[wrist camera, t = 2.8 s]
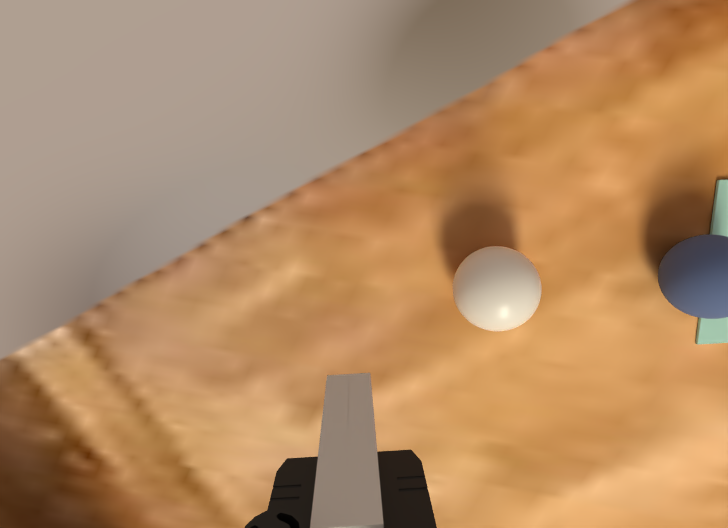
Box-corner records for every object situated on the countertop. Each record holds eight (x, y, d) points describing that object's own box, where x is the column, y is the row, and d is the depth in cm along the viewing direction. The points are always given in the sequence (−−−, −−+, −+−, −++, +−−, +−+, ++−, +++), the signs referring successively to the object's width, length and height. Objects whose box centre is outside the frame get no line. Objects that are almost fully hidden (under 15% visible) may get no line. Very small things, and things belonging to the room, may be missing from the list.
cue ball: (445, 316, 32) (464, 347, 27) (444, 241, 31) (464, 258, 25) (520, 312, 32) (554, 342, 27) (523, 237, 31) (559, 253, 26)
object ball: (636, 305, 32) (693, 334, 27) (643, 230, 31) (705, 245, 26) (710, 301, 32) (782, 329, 27) (721, 226, 31) (798, 240, 26)
